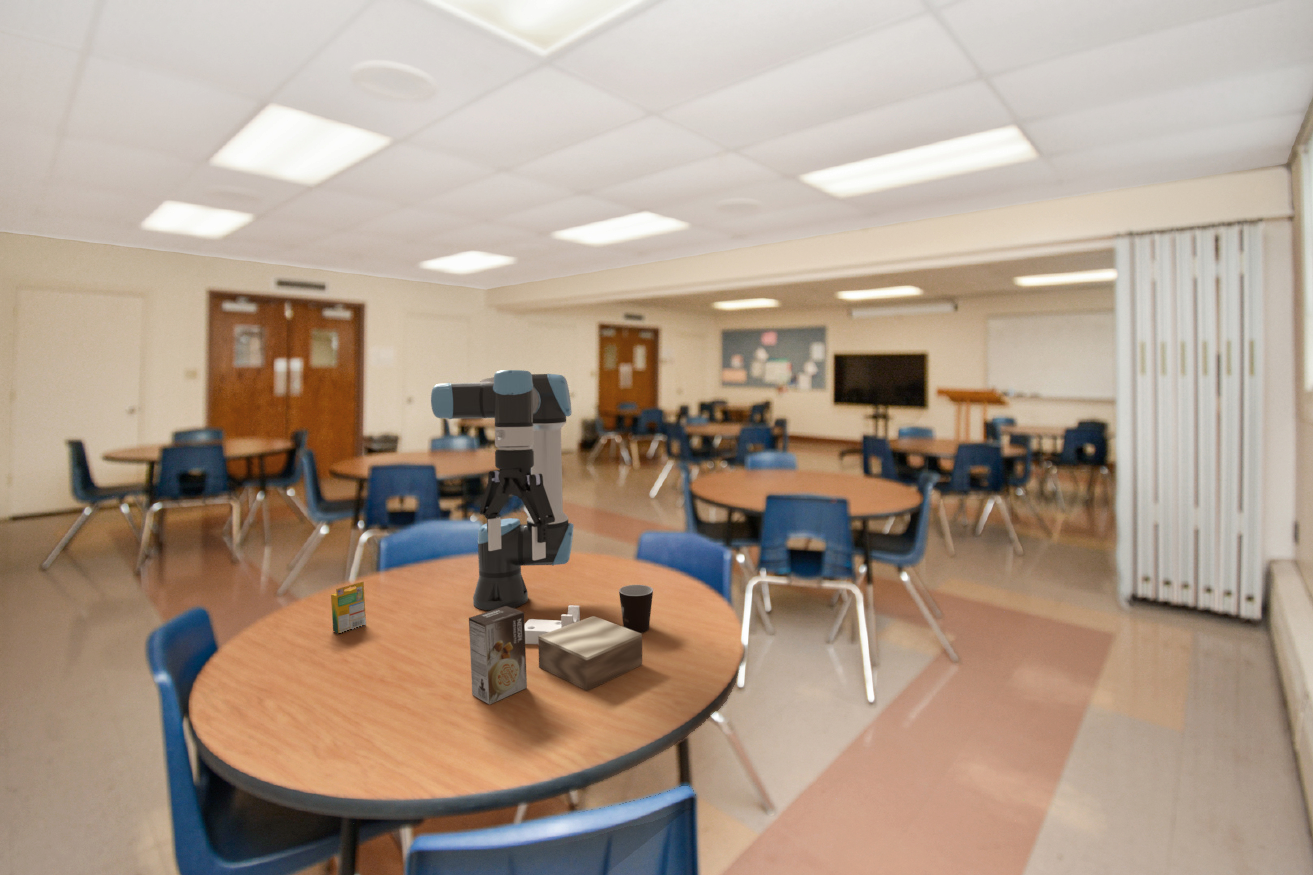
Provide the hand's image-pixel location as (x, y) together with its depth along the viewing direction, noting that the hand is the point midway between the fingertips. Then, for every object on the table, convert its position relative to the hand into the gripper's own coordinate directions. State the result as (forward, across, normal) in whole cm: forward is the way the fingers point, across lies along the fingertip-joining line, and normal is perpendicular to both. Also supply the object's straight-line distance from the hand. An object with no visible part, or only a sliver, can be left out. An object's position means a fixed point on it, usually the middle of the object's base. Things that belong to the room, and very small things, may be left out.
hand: (516, 554), depth 124 cm
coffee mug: (+27, -2, +40) cm, 49 cm away
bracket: (+27, -14, +22) cm, 38 cm away
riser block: (+27, +4, +17) cm, 32 cm away
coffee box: (+28, -3, -3) cm, 28 cm away
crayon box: (+27, -60, -5) cm, 66 cm away
